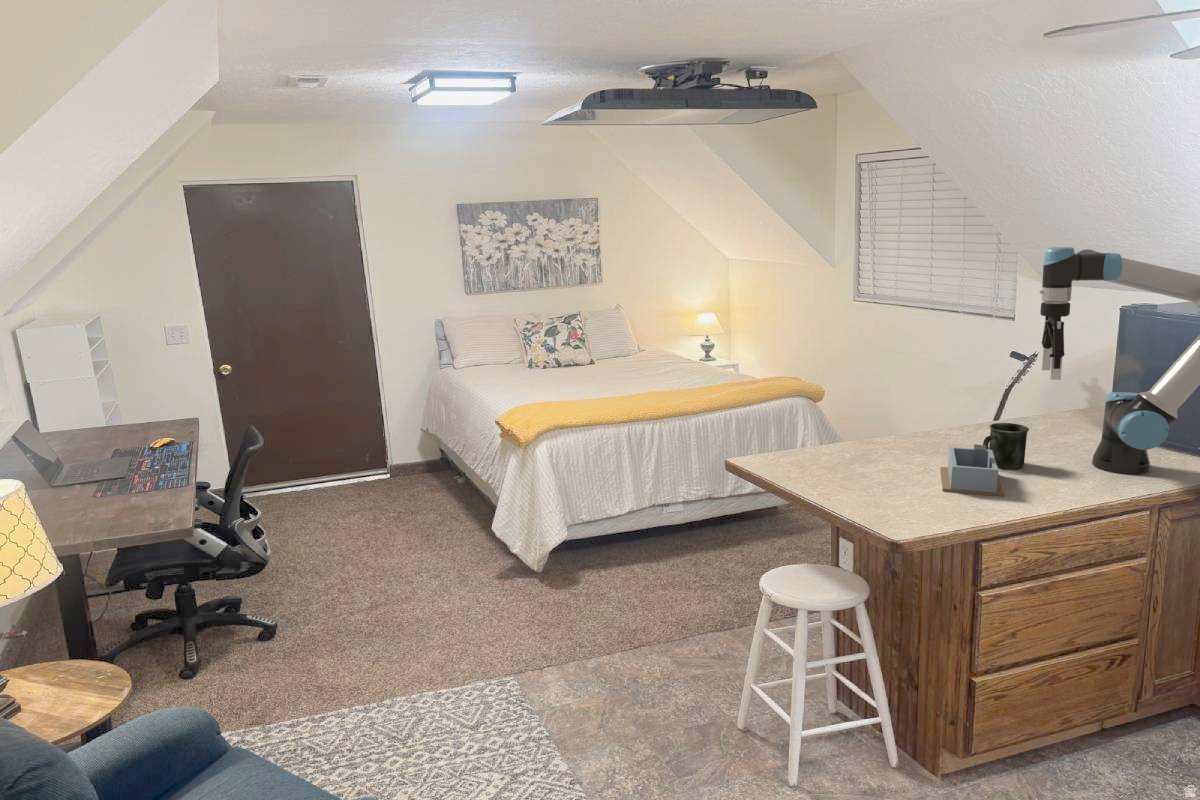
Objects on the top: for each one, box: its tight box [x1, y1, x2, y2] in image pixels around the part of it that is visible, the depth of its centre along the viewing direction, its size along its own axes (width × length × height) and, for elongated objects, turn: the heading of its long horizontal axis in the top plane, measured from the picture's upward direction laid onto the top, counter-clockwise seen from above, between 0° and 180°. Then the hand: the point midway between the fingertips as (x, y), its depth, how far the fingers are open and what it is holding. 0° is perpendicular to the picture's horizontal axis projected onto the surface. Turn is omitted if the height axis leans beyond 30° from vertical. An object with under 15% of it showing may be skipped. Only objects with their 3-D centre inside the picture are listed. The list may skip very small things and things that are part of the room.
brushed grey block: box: [972, 444, 986, 468], centre depth 259 cm, size 6×5×10 cm
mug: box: [982, 422, 1030, 470], centre depth 274 cm, size 11×15×12 cm
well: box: [939, 446, 1005, 497], centre depth 259 cm, size 16×21×7 cm
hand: (1050, 374), depth 260 cm, fingers open, 13 cm apart
